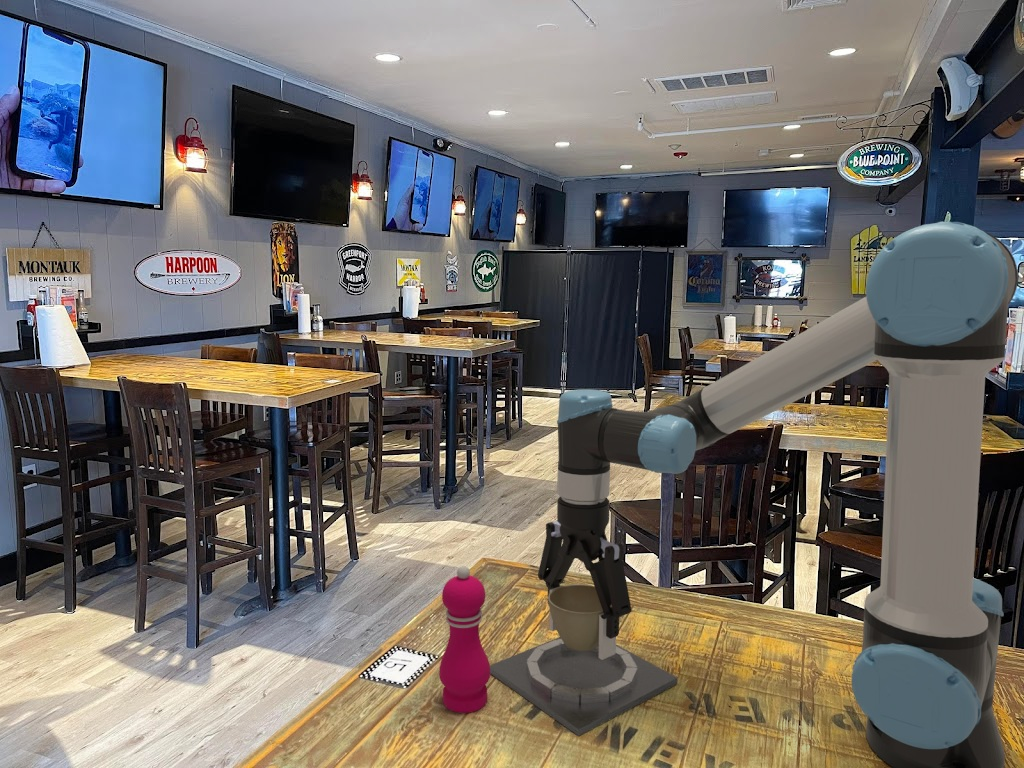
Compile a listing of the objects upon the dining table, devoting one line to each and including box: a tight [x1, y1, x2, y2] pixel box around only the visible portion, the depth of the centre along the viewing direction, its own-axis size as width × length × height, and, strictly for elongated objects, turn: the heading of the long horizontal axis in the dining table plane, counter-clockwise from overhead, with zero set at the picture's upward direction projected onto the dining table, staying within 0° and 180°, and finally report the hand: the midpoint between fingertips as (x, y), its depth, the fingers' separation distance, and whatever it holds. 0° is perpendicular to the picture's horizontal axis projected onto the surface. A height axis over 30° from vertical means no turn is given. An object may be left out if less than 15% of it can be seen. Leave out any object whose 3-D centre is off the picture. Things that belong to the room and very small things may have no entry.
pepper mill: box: [438, 565, 491, 714], centre depth 103 cm, size 7×7×20 cm
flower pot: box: [547, 583, 612, 651], centre depth 108 cm, size 10×10×7 cm
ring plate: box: [490, 636, 679, 737], centre depth 110 cm, size 20×20×2 cm
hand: (581, 641), depth 109 cm, fingers closed on flower pot, 10 cm apart
